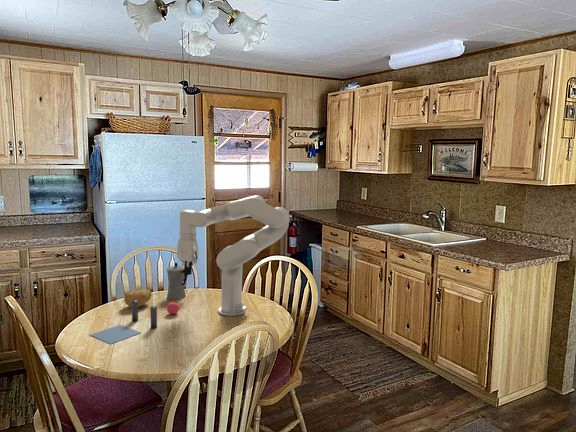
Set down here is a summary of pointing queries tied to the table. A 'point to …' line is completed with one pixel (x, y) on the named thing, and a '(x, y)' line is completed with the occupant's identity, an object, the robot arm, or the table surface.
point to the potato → (138, 297)
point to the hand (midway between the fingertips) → (187, 274)
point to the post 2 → (153, 316)
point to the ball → (173, 308)
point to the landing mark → (115, 334)
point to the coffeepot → (176, 282)
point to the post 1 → (134, 310)
